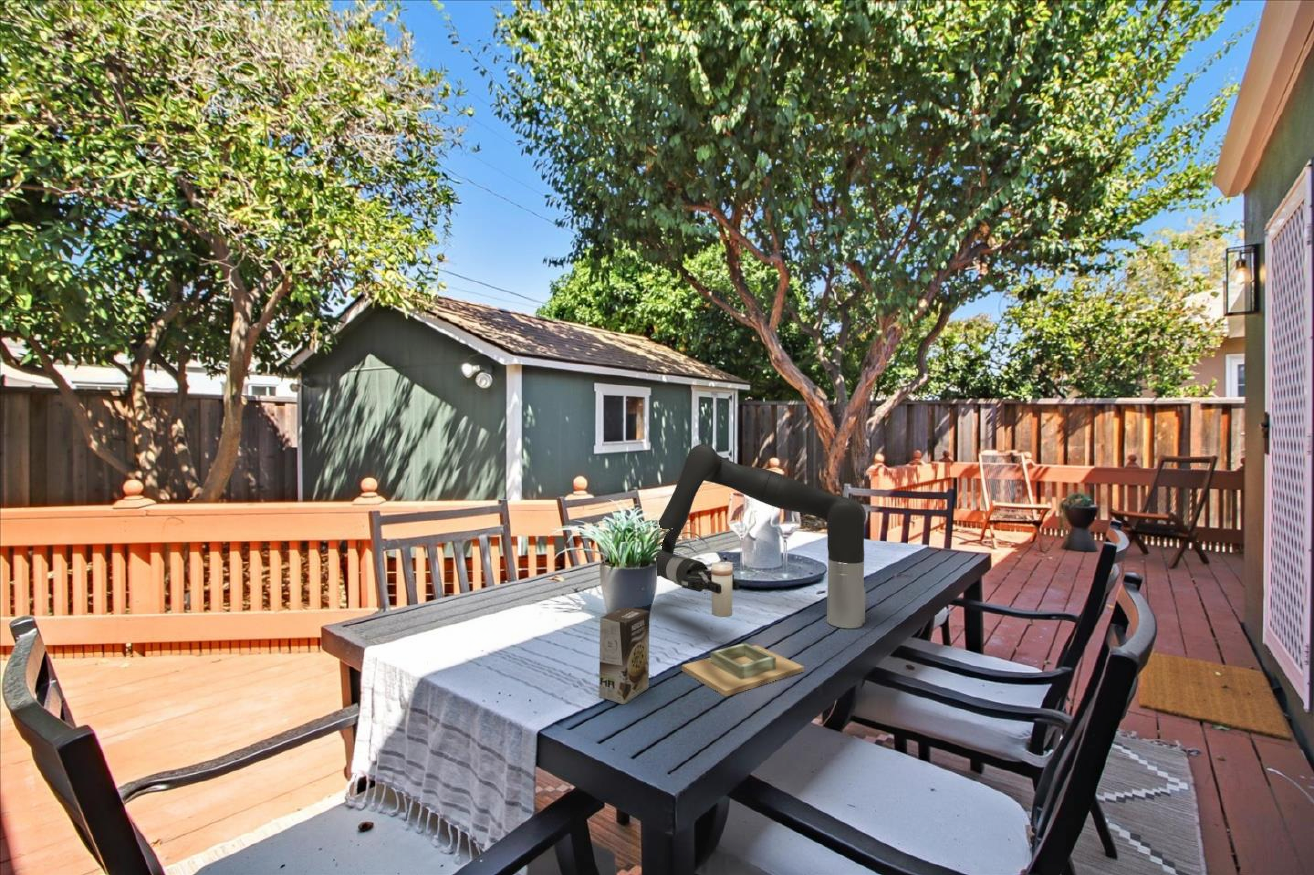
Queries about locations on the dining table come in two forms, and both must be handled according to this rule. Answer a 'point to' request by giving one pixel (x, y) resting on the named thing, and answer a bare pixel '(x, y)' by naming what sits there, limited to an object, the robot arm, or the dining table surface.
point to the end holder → (740, 668)
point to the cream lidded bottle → (722, 589)
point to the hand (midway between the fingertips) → (729, 587)
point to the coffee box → (624, 654)
